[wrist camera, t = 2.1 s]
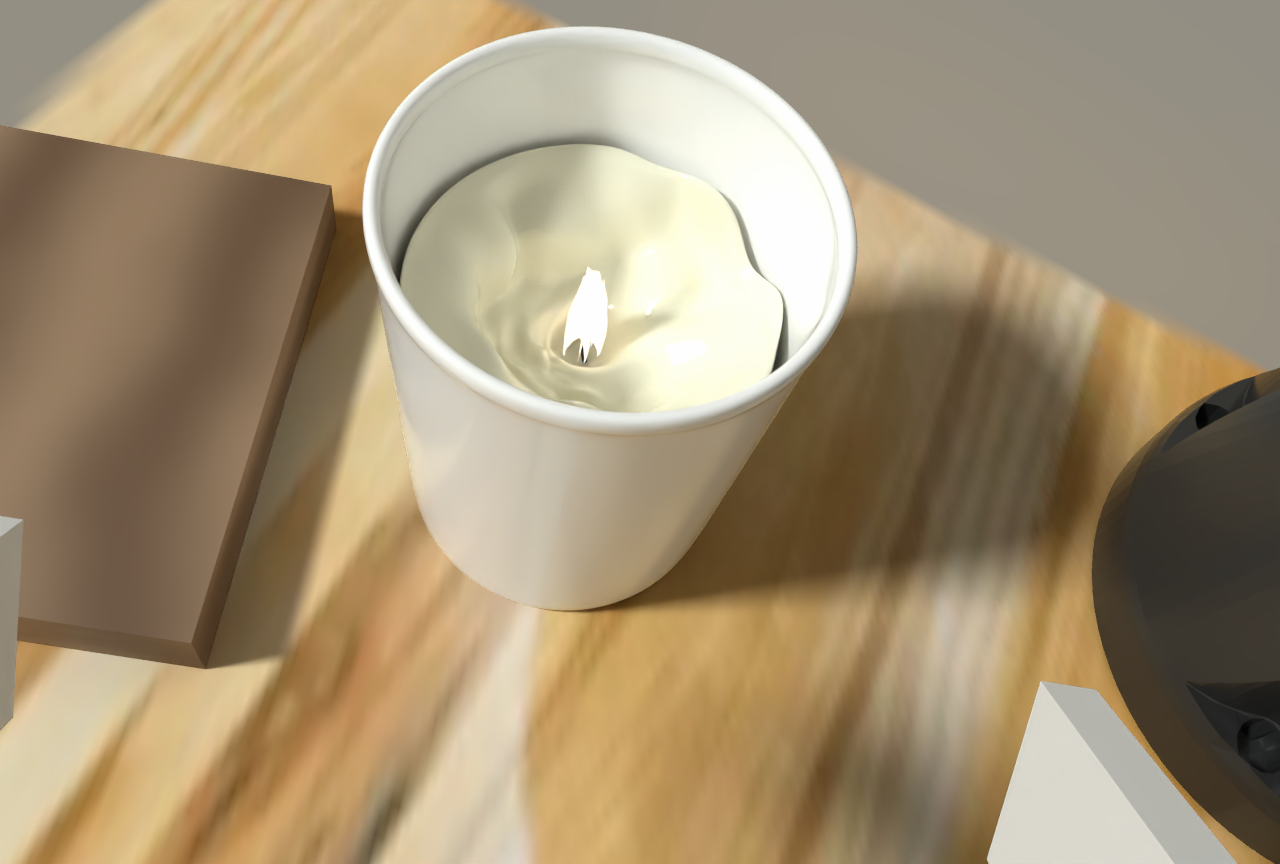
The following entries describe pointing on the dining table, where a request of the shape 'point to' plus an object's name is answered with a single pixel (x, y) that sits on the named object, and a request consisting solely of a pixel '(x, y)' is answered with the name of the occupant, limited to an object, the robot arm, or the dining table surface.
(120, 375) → the walnut board
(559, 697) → the dining table surface
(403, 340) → the candle holder
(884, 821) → the dining table surface
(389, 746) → the dining table surface
